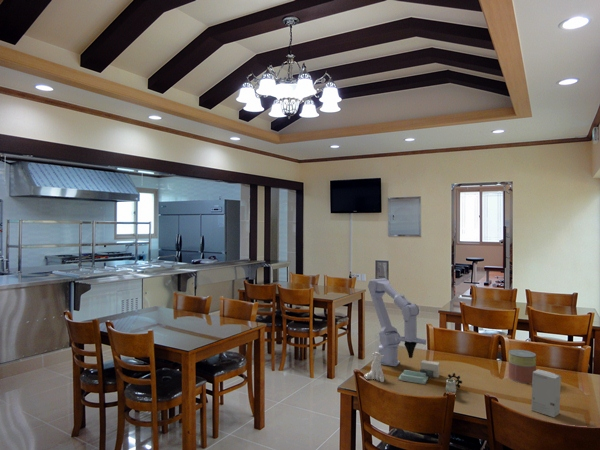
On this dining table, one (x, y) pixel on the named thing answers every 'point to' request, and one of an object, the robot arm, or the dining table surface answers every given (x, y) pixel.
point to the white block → (431, 367)
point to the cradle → (413, 377)
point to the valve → (452, 383)
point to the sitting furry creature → (376, 368)
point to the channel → (427, 372)
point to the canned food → (521, 365)
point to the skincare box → (546, 393)
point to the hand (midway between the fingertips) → (410, 357)
